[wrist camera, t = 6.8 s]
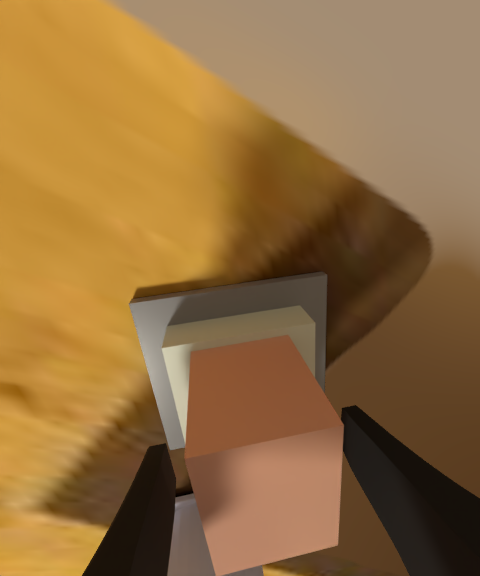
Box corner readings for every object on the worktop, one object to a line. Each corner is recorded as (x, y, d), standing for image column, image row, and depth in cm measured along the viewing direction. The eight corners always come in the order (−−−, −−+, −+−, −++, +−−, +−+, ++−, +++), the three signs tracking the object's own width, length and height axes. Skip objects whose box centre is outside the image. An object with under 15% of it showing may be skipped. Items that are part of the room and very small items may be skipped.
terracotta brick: (292, 429, 14) (337, 545, 10) (210, 446, 14) (216, 576, 9) (288, 334, 12) (343, 424, 7) (190, 351, 12) (184, 459, 7)
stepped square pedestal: (320, 411, 18) (339, 446, 15) (171, 441, 17) (166, 483, 14) (322, 271, 14) (347, 288, 12) (131, 298, 13) (116, 323, 11)
